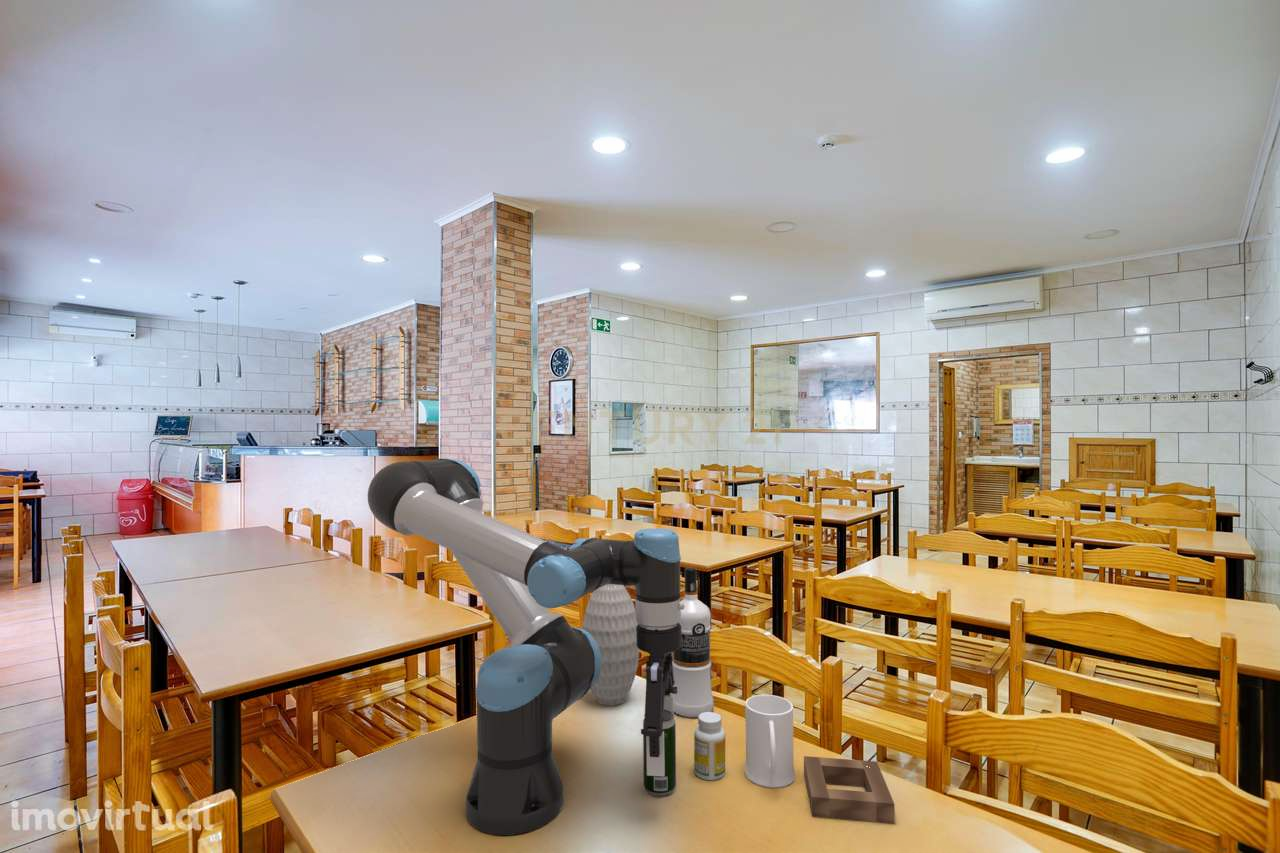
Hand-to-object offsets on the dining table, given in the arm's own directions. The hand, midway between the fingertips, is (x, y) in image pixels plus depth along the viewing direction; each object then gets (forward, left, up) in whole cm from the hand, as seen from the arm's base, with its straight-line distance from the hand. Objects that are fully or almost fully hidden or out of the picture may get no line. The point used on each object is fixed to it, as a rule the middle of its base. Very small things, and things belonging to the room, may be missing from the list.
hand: (661, 752), depth 102 cm
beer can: (0, 0, -6) cm, 6 cm away
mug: (+18, +6, -6) cm, 20 cm away
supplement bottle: (+8, +6, -6) cm, 12 cm away
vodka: (+3, +30, -6) cm, 31 cm away
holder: (+30, +2, -6) cm, 30 cm away
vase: (-15, +32, -6) cm, 36 cm away
